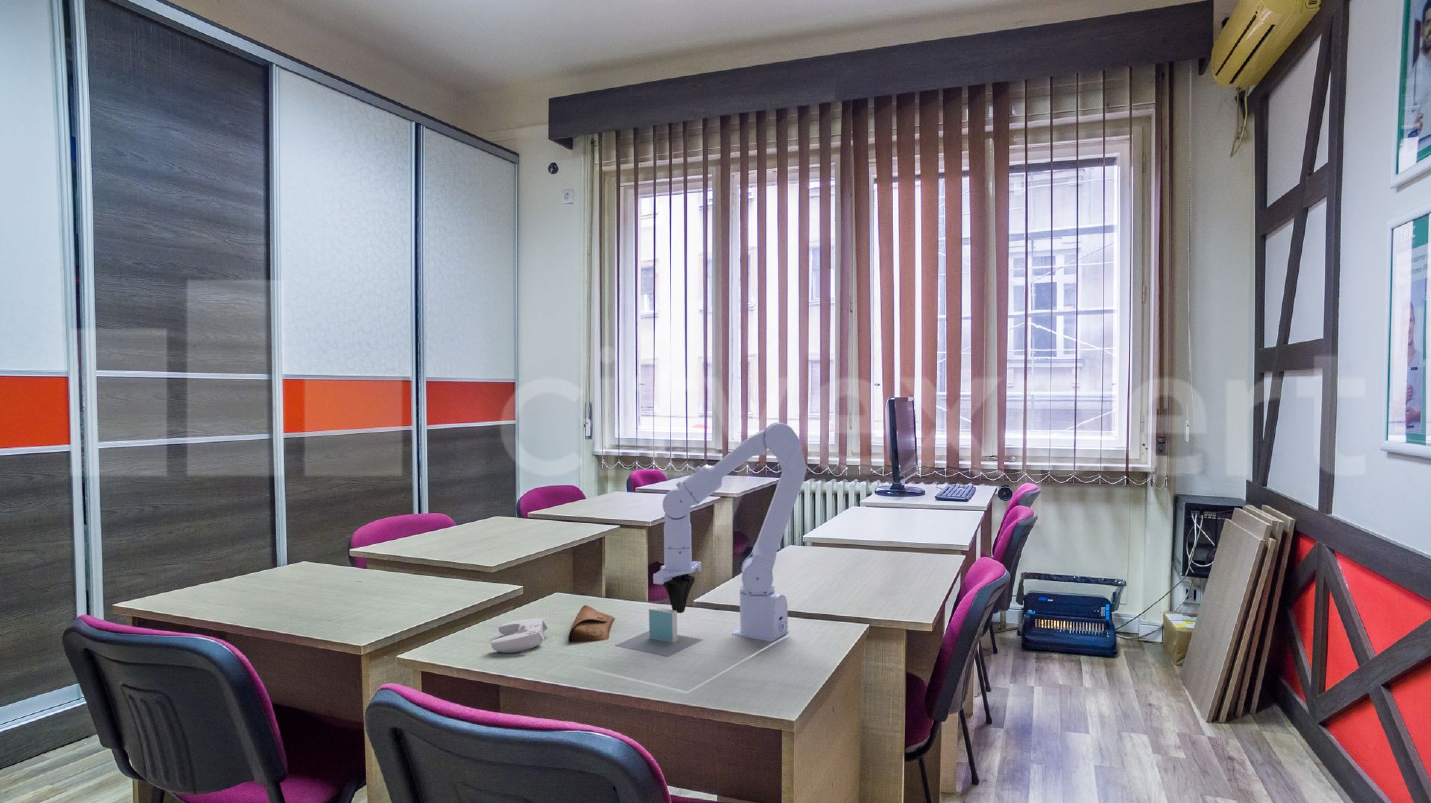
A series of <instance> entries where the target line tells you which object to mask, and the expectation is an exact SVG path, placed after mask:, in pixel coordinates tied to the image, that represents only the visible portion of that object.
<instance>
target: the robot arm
mask: <svg viewBox="0 0 1431 803" xmlns="http://www.w3.org/2000/svg"><path fill="white" fill-rule="evenodd" d="M802 448H803V447H802V444H801V440H800V438H799V437H798V435H797V434H796V432H795V431H794V430H793V428H792V427H791V426H790V425H788V424H786V423H783V422H773V423H771V424H770V425H768V426H767V427H766V428H765V429H761V430H760V431H757V432H755V434H752V435H751V436H749V437H747V439H745V440H744V441H743V442H741V443H740V444H739V445H738V446H736V447H735V448H734V449H733V450H731V451H730V452H729V453H728V454H726V455H725V456H724V457H722V459H721V460H719V461H718V462H717V463H715V464H714V465H708V464H704V465H703V466H699V465H698V466H696V467H695V468H694V469H693V471H694V473H692V474H690V475H689V476H688V477H687V478H685V479H684V480H682V481H678V482H677V483H676V484H675V485H676V488H673V489H671V490H669V491H668V492H667V493H666V494H665V495H664V497H663V499H662V509H663V511H664V516H663V517H664V518H663V520H664V524H663V550H664V551H663V555H664V556H663V557H664V558H663V560H664V561H663V562H664V565H661V566H660V570H659V571H657V572H656V573H653V576H652V580H653V584H655V585H663V587H664V589H665V591H666V593H667V595H668V597H669V601H670V605H671V610H675V611H677V614H682V613H684V612H685V610H686V606H687V601H688V598H689V594H690V592H691V589H692V586H693V584H694V583H695V580H696V577H695V576H693V575H690V574H692V573H695V572H701V571H702V561H695V560H693V558H692V547H693V546H692V524H691V509H692V507H693V506H697V505H700V504H701V503H702V502H703V501H705V500H706V499H707V498H708V497H710V496H711V495H712V494H714V493H715V492H716V491H717V490H720V488H721V487H722V483H723V478H724V477H726V476H727V475H728V474H730V473H731V472H733V471H734V470H735V469H737V468H738V467H740V466H741V465H742V464H744V463H746V462H747V461H748V460H749V459H751V458H752V457H754V456H764V455H768V453H767V451H766V450H767V449H768V450H769V451H770V453H771V454H772V455H773V456H774V457H775V458H776V461H777V463H778V464H779V466H780V468H781V475H780V477H779V480H778V483H777V485H776V487H775V491H774V494H773V496H772V499H771V502H770V505H769V507H768V509H767V513H766V515H765V518H764V520H763V524H762V526H761V528H760V531H759V534H758V537H757V539H756V542H755V543H754V545H753V547H752V551H751V553H750V554H749V555H748V556H747V557H746V558H745V559H744V561H742V565H741V573H742V574H741V582H742V585H741V586H740V587H739V621H740V623H739V624H740V628H739V629H736V630H735V631H732V633H731V634H732V636H733V635H734V636H739V637H746V638H751V639H756V640H760V641H761V640H762V641H765V642H773V641H776V640H777V639H778V638H781V637H782V636H785V635H786V634H788V633H789V632H790V629H789V626H788V623H789V622H788V620H789V618H788V600H787V598H786V596H785V595H784V594H782V593H778V592H776V591H775V586H774V585H772V584H773V583H774V582H773V581H774V575H773V574H774V573H773V570H774V566H775V563H776V559H777V555H778V554H777V553H778V549H779V548H780V545H781V542H782V539H783V536H784V534H785V531H786V529H787V525H788V523H789V520H790V518H791V515H792V513H793V509H794V508H795V507H794V506H795V504H796V501H797V499H798V497H799V496H798V495H799V493H800V490H801V488H802V485H803V482H804V480H805V478H806V477H805V476H806V474H807V465H806V464H807V463H806V461H805V456H804V452H803V449H802ZM692 560H693V561H692Z"/></svg>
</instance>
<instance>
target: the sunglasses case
mask: <svg viewBox="0 0 1431 803" xmlns="http://www.w3.org/2000/svg"><path fill="white" fill-rule="evenodd" d="M615 620H616V617H614V616H612V615H610V614H606V613H604V612H600V611H598V610H596V609H595V608H593V607H592V606H589V605H586V604H584V605H583V606H581V608H580V610H579V612H578V613H577V615H576V617H575V619H574V620H573V623H572V625H571V628H570V629H569V634H568V638H567V639H568V642H569V643H581V642H582V643H583V642H586V643H587V642H599V641H600V642H601V641H607V640H609V638H610V631H611V628H612V625H613V623H614V622H615Z"/></svg>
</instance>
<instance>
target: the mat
mask: <svg viewBox="0 0 1431 803" xmlns="http://www.w3.org/2000/svg"><path fill="white" fill-rule="evenodd" d="M701 641H704V640H703V638H697V637H692V636H687V635H681V634H677V641H676V642H674V643H672V642H667V641H662V640H657V639H652V638H649V630H648V631H646V632H643V633H641V634H639V635H636V636H633V637H631V638H629V639H627V640H624V641H622V642H619V643H617V644H615V645H614V646H615V647H620V648H623V649H629V650H633V651H638V652H643V653H648V654H653V655H658V656H662V657H667V658H668V657H671V656H672V655H674V654H676V653H679V652H681V651H683V650H685V649H687V648H689V647H691V646H693V645H695V644H697V643H699V642H701Z"/></svg>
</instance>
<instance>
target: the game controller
mask: <svg viewBox="0 0 1431 803" xmlns="http://www.w3.org/2000/svg"><path fill="white" fill-rule="evenodd" d="M548 629H549V626H548V624H547V623H546V620H544V618H540V617H539V618H526V619H525V618H524V619H519V620H512V621H509V622H508V621H507V622H506V623H503V624H500V625H499V626H498V632H499V633H500V634H502V636H501V637H498V638H495V639H492V640H491V641H490V645H491V648H492V649H493V650H494V651H496V652H498V653H504V654H513V653H521V652H522V651H527V650H531V649H533V648H536V647H538V646H540V645H541V643H542V642H544V640H545V637H544V635H543V634H545V631H547V630H548ZM503 635H504V636H503Z"/></svg>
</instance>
